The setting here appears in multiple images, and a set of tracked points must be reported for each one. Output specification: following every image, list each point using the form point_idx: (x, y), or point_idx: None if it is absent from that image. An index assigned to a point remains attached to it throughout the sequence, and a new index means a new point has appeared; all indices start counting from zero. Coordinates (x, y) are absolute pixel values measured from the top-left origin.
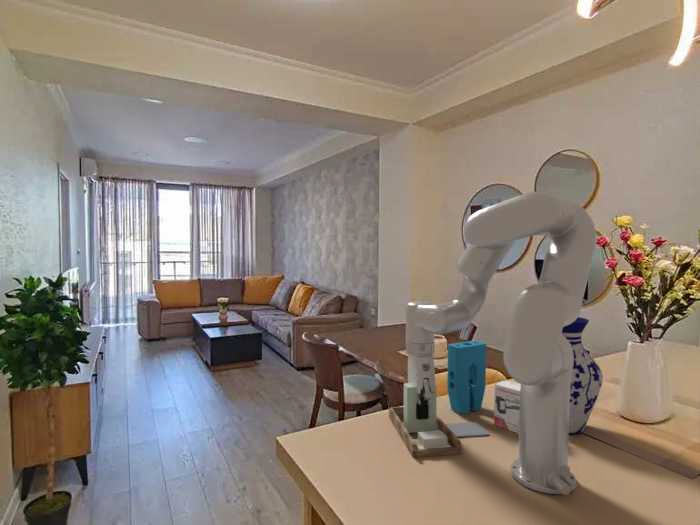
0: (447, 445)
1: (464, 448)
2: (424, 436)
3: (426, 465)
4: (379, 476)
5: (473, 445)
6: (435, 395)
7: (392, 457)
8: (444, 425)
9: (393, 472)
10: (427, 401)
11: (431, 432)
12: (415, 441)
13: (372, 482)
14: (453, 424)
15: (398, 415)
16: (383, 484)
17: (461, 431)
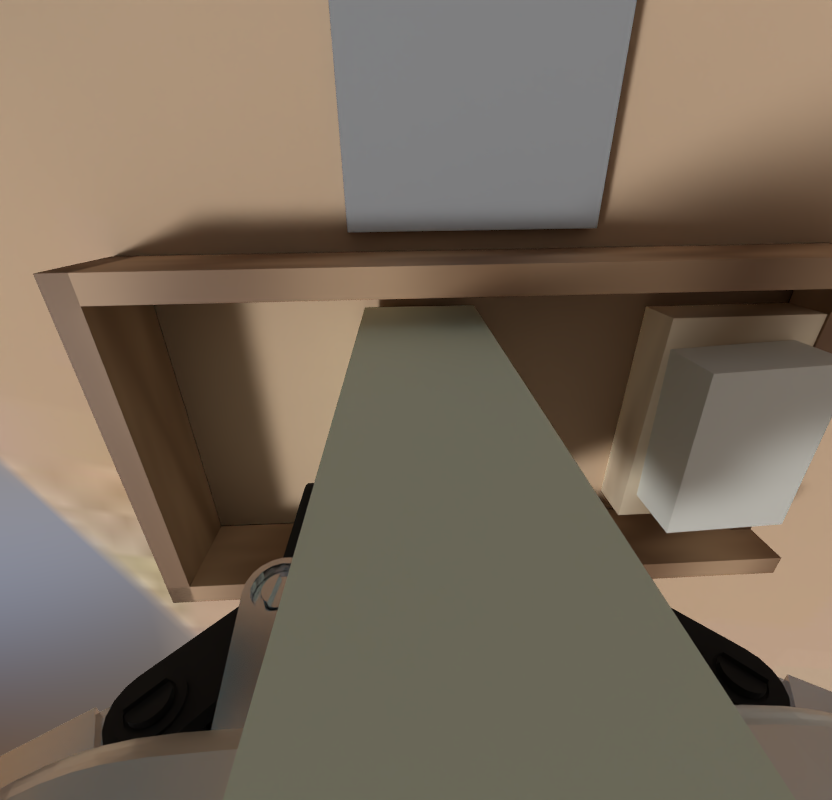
0: (792, 336)
1: (784, 170)
2: (748, 511)
3: (815, 478)
4: (777, 638)
5: (785, 46)
6: (603, 528)
7: (673, 588)
8: (600, 283)
9: (781, 599)
10: (718, 645)
11: (714, 451)
12: (647, 509)
13: (796, 657)
14: (361, 67)
15: (204, 506)
16: (829, 633)
17: (536, 47)
